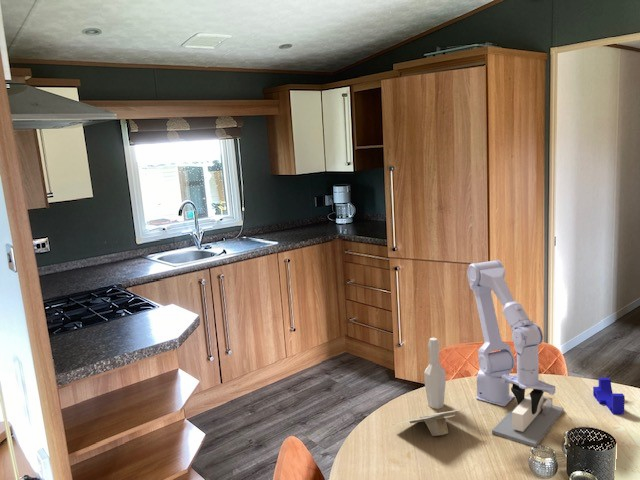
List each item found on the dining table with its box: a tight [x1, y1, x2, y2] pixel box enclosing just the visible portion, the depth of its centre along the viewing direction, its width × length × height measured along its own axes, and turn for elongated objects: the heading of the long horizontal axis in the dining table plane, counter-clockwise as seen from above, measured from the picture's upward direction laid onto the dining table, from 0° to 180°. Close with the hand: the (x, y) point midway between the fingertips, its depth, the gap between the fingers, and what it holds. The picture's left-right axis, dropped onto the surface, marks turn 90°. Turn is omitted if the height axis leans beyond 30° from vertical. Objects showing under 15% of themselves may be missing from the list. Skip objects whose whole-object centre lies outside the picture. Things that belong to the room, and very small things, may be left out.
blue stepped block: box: [592, 377, 625, 416], centre depth 157 cm, size 12×4×6 cm, turn 171°
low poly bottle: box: [423, 337, 447, 410], centre depth 163 cm, size 6×6×22 cm
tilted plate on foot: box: [392, 408, 463, 437], centre depth 149 cm, size 16×9×15 cm
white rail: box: [512, 389, 544, 432], centre depth 150 cm, size 3×16×5 cm, turn 138°
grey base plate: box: [491, 395, 565, 448], centre depth 151 cm, size 12×23×4 cm, turn 138°
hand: (528, 410), depth 150 cm, fingers closed on white rail, 3 cm apart
